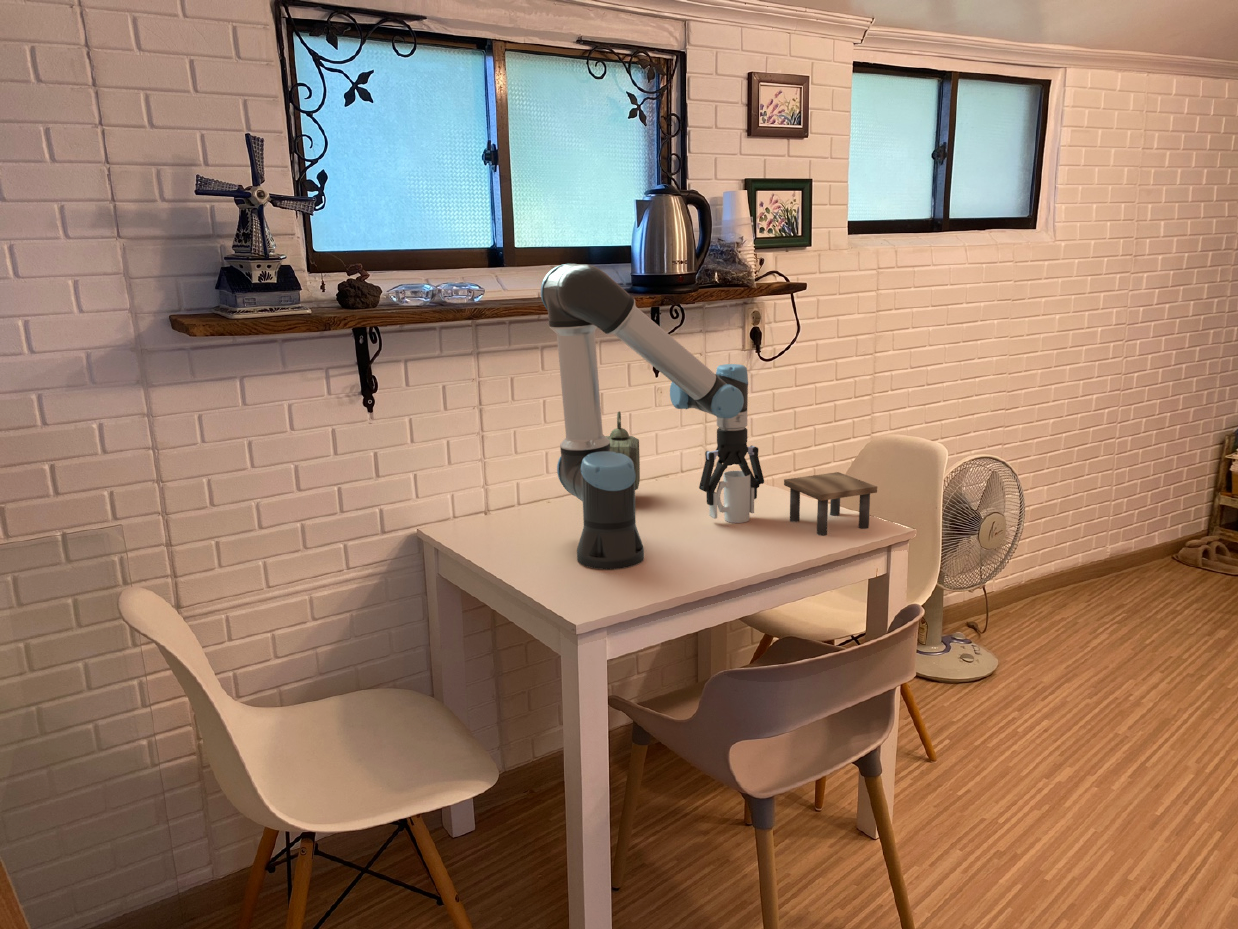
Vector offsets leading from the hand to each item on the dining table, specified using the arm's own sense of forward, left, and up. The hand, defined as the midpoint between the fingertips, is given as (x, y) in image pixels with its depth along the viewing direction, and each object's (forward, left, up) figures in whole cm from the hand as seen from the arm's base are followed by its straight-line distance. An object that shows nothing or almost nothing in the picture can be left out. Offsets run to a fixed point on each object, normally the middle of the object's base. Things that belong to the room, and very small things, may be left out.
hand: (731, 514), depth 232 cm
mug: (0, 0, -2) cm, 2 cm away
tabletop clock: (-18, +29, -2) cm, 34 cm away
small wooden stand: (+20, -13, -2) cm, 24 cm away
